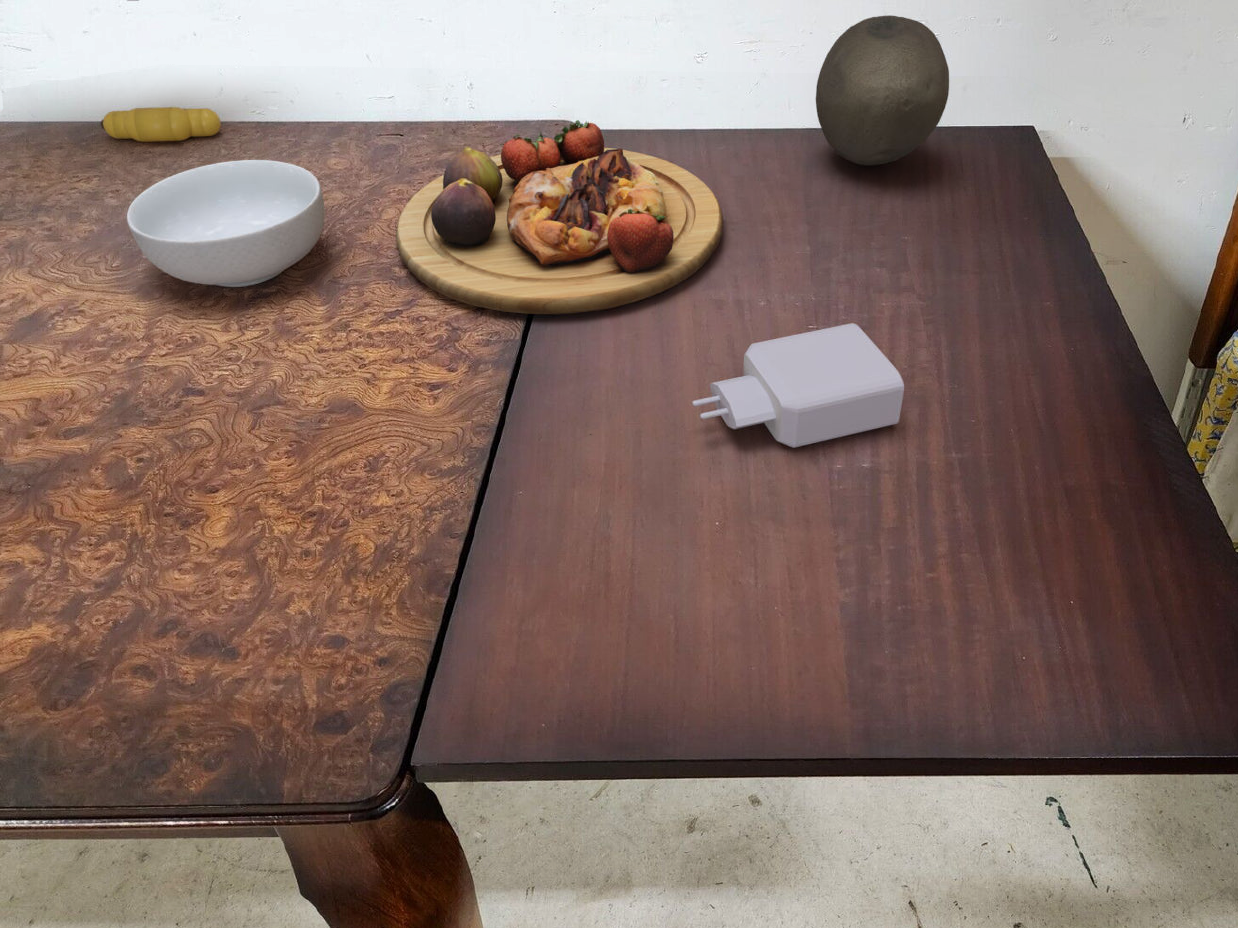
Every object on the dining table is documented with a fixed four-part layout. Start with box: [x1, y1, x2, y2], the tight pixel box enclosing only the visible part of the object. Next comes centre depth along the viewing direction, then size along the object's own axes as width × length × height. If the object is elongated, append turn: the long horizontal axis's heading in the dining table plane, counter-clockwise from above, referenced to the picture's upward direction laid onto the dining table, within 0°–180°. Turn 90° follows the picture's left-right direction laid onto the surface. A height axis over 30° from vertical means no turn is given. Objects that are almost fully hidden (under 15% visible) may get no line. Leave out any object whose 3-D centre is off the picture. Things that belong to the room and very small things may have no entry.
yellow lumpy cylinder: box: [100, 106, 222, 143], centre depth 124 cm, size 13×4×4 cm, turn 94°
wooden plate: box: [395, 119, 724, 315], centre depth 105 cm, size 32×32×8 cm
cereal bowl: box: [126, 159, 326, 288], centre depth 101 cm, size 17×17×7 cm
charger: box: [691, 322, 905, 449], centre depth 84 cm, size 5×9×15 cm
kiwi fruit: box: [815, 14, 950, 166], centre depth 114 cm, size 14×14×15 cm
